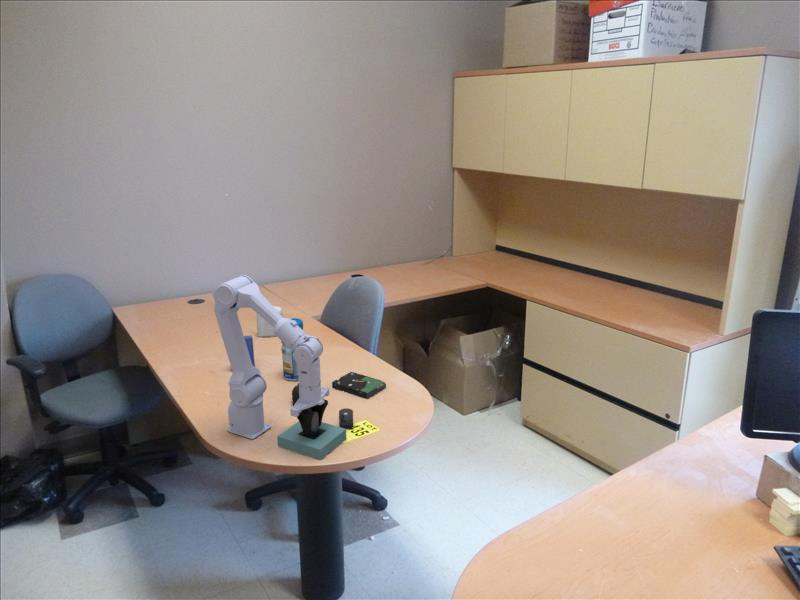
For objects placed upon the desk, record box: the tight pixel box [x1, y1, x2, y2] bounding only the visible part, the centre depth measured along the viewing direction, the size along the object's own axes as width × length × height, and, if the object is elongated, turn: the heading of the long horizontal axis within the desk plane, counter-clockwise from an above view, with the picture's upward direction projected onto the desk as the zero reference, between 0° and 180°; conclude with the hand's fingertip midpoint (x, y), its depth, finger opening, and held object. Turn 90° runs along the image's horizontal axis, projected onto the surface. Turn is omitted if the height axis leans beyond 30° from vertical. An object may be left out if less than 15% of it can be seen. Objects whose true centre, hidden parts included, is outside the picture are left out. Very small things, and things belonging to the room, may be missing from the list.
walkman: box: [231, 334, 256, 373], centre depth 204 cm, size 8×3×12 cm, turn 114°
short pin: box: [338, 408, 354, 430], centre depth 167 cm, size 4×4×4 cm
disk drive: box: [331, 371, 387, 400], centre depth 192 cm, size 10×3×15 cm
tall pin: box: [304, 408, 319, 440], centre depth 158 cm, size 4×4×9 cm
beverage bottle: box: [280, 317, 304, 382], centre depth 197 cm, size 8×8×20 cm
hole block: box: [276, 421, 347, 461], centre depth 159 cm, size 14×12×3 cm
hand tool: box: [291, 382, 299, 407], centre depth 188 cm, size 19×4×5 cm, turn 172°
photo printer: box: [256, 305, 284, 338], centre depth 237 cm, size 10×4×12 cm, turn 102°
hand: (311, 429), depth 158 cm, fingers closed on tall pin, 4 cm apart
